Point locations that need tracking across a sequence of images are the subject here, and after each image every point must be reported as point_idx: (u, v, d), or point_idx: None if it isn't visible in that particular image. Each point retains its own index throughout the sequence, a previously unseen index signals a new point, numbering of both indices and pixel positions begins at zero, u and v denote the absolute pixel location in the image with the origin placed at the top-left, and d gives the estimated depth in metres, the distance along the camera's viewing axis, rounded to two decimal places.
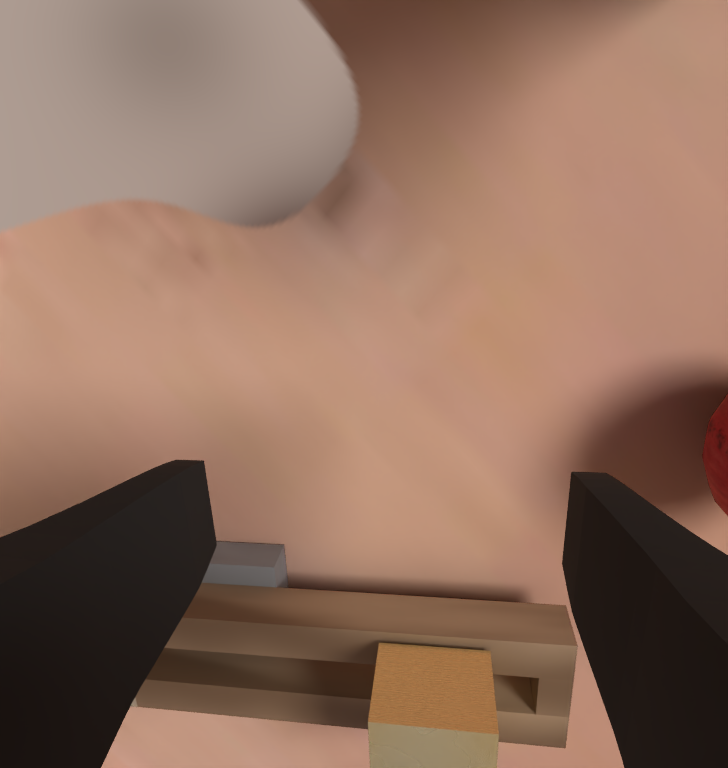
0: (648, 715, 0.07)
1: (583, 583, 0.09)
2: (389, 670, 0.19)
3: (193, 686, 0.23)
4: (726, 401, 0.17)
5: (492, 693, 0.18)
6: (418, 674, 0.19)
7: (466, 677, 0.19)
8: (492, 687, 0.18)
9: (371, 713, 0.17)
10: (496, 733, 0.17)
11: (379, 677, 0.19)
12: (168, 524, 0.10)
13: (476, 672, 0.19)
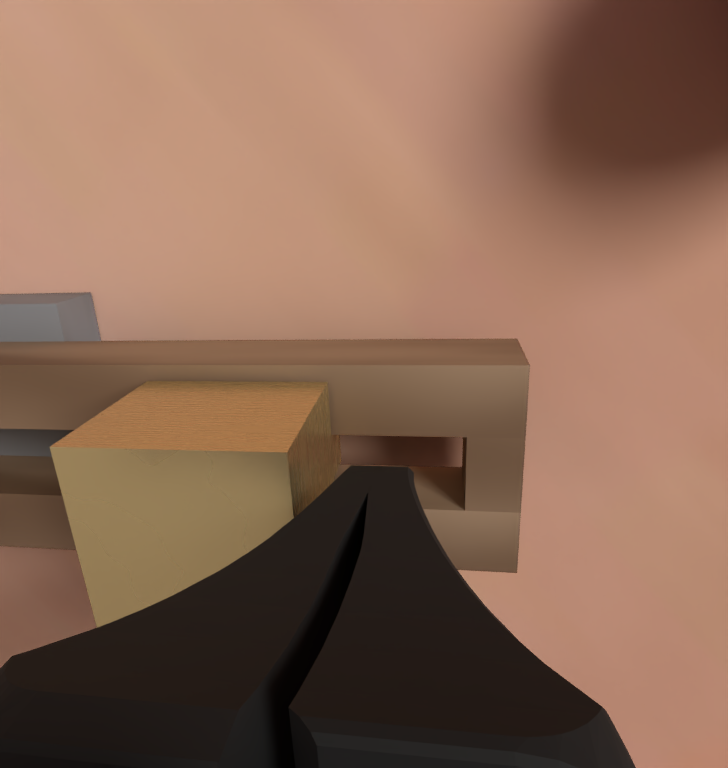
0: None
1: None
2: (139, 401, 0.11)
3: None
4: None
5: (304, 415, 0.10)
6: (186, 403, 0.11)
7: (268, 403, 0.10)
8: (308, 410, 0.10)
9: (65, 438, 0.09)
10: (282, 451, 0.08)
11: (116, 407, 0.11)
12: None
13: (289, 398, 0.11)
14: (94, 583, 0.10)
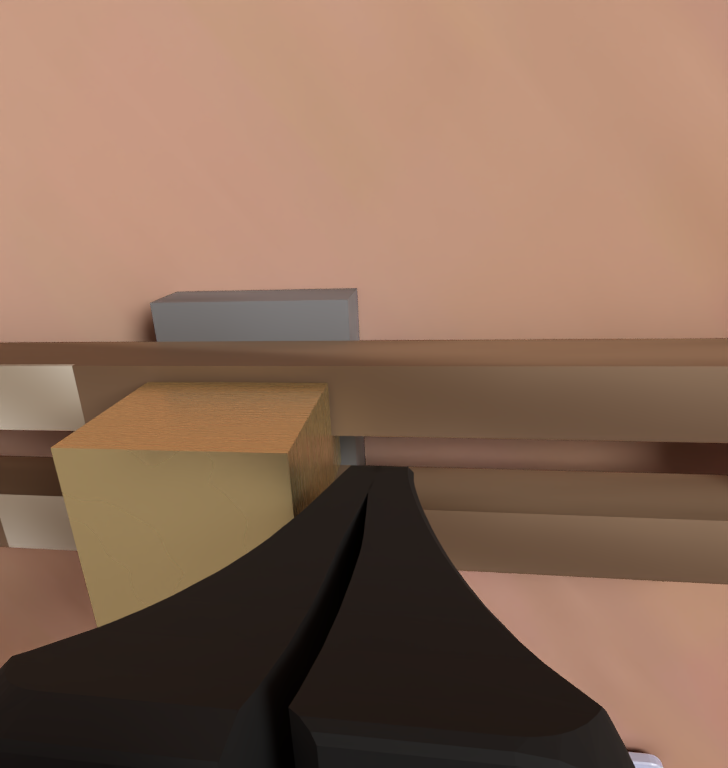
0: None
1: None
2: (140, 401, 0.11)
3: None
4: None
5: (304, 416, 0.10)
6: (187, 403, 0.11)
7: (269, 404, 0.10)
8: (308, 411, 0.10)
9: (66, 439, 0.09)
10: (283, 452, 0.08)
11: (117, 408, 0.11)
12: None
13: (290, 399, 0.11)
14: (95, 583, 0.10)
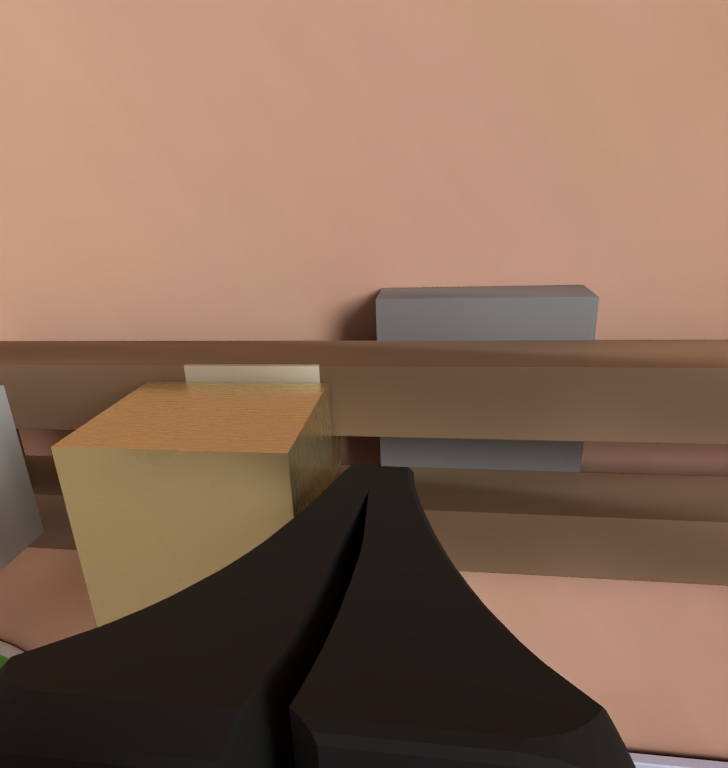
0: None
1: None
2: (140, 401, 0.11)
3: (449, 516, 0.12)
4: None
5: (305, 416, 0.10)
6: (187, 403, 0.11)
7: (269, 404, 0.10)
8: (308, 411, 0.10)
9: (66, 438, 0.09)
10: (283, 452, 0.08)
11: (117, 407, 0.11)
12: None
13: (290, 399, 0.11)
14: (95, 583, 0.10)
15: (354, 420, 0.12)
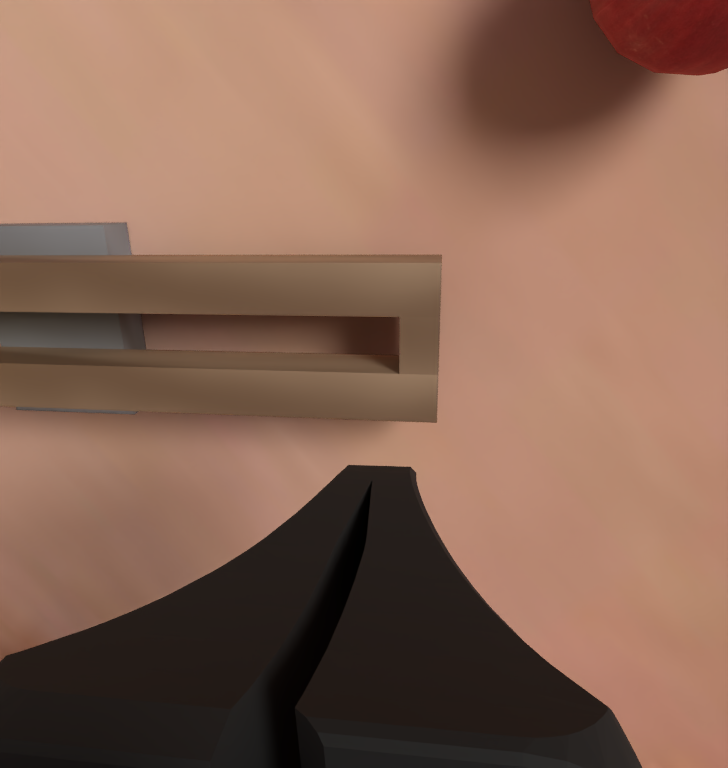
0: None
1: None
2: None
3: (4, 367, 0.19)
4: None
5: None
6: None
7: None
8: None
9: None
10: None
11: None
12: (366, 533, 0.09)
13: None
14: None
15: None
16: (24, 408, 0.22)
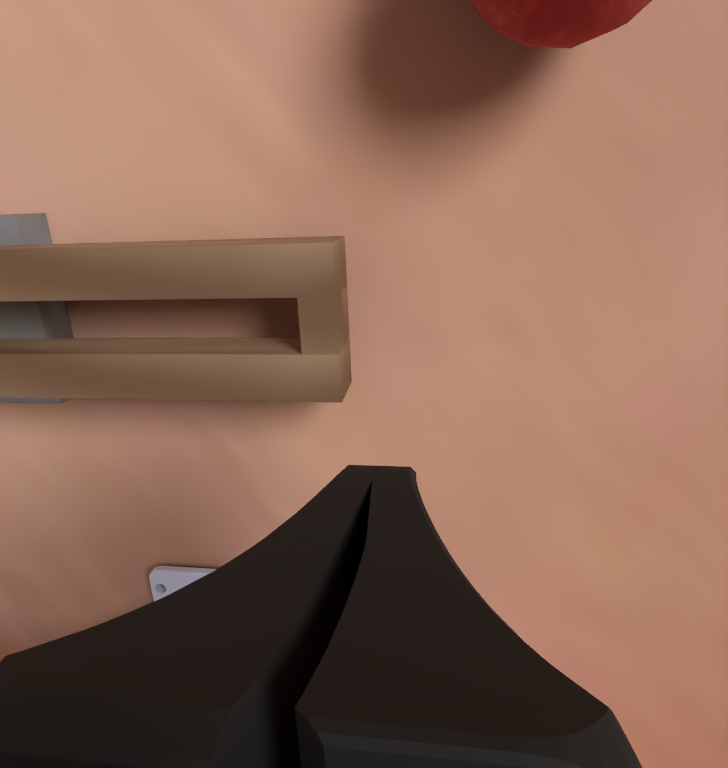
0: None
1: None
2: None
3: None
4: None
5: None
6: None
7: None
8: None
9: None
10: None
11: None
12: (366, 533, 0.09)
13: None
14: None
15: None
16: None
